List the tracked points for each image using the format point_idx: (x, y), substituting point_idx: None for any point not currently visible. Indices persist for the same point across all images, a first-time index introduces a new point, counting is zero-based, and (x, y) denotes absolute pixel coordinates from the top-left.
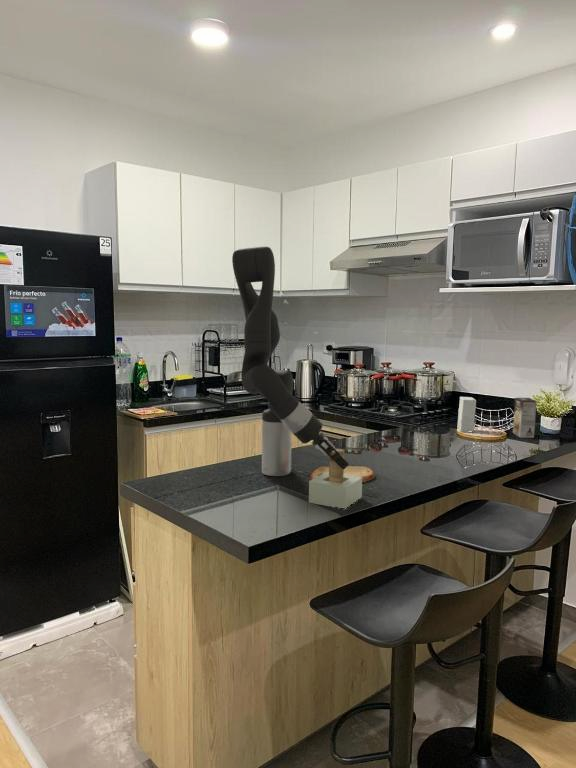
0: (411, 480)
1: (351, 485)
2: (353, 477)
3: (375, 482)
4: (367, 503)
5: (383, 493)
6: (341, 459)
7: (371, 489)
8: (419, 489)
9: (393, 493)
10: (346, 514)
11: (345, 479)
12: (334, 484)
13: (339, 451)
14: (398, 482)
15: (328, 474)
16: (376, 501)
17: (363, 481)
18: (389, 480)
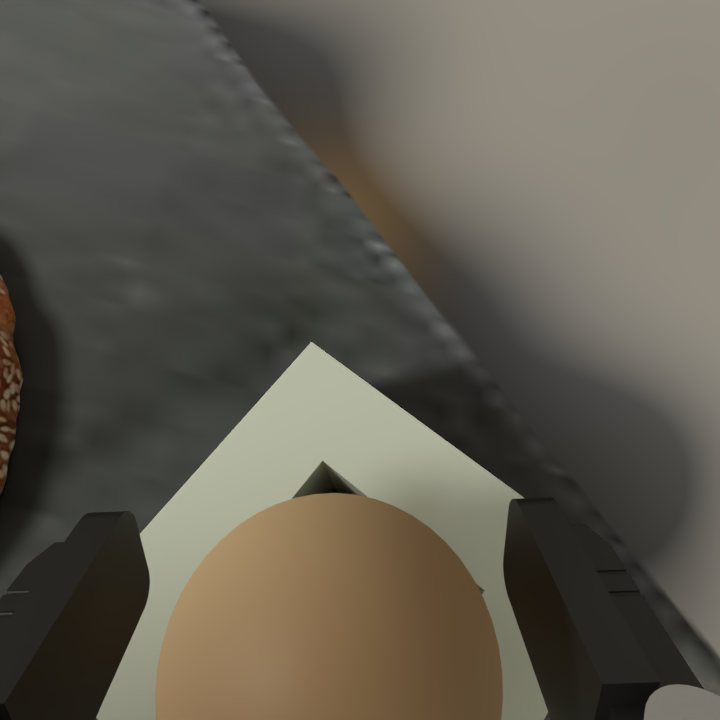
0: (68, 65)
1: (512, 493)
2: (300, 417)
3: (35, 236)
4: (425, 389)
5: (251, 251)
6: (667, 642)
7: (162, 294)
8: (223, 76)
9: (262, 202)
10: (646, 590)
11: (296, 496)
12: (527, 680)
13: (382, 619)
14: (79, 127)
15: (148, 656)
16: (391, 328)
17: (3, 298)
18: (27, 157)
